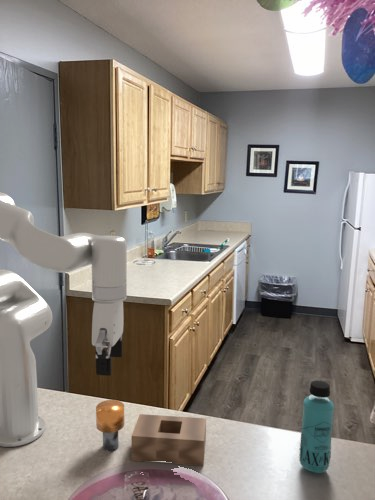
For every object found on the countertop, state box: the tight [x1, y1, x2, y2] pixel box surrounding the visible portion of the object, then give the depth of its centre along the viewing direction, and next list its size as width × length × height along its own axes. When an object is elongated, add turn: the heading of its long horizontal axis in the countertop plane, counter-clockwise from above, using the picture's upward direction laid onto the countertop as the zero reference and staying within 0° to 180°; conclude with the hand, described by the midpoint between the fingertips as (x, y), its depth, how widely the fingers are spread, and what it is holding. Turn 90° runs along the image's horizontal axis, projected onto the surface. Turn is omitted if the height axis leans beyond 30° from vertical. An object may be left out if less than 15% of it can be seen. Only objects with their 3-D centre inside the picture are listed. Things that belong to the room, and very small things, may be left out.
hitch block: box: [131, 413, 207, 467], centre depth 98 cm, size 16×9×6 cm, turn 85°
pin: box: [95, 399, 125, 452], centre depth 99 cm, size 6×6×10 cm
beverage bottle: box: [299, 380, 335, 474], centre depth 91 cm, size 6×7×20 cm
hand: (109, 365), depth 97 cm, fingers open, 9 cm apart
